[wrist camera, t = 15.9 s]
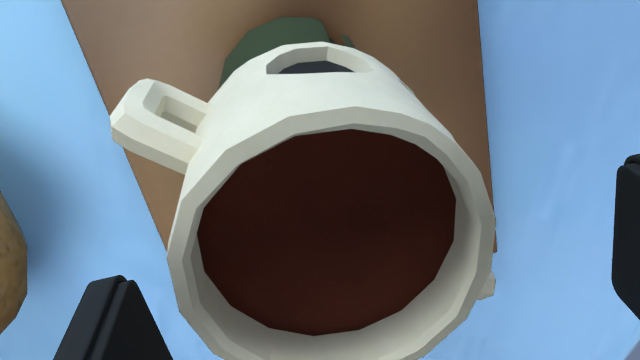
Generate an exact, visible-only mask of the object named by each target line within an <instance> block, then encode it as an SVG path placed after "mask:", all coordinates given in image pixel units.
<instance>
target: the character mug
mask: <svg viewBox="0 0 640 360" xmlns="http://www.w3.org/2000/svg"><path fill="white" fill-rule="evenodd" d="M342 37H343V40H344V43H345V46H341V45H337V44H336V43H335V42H334V41H333V40H332V39H330V38H328V35H327V33H326V30H325V28H324V25H323V23H322V22H321V21H319V20H318V19H316V18H306V17H279V18H277V19H275V20H273V21H270V22H268V23H266V24H263V25H261V26H259V27H257V28H254V29H252V30H250V31H248V32H247V33H246V34H245V35H244V37H243V38H242V39H241V40H240V42H239V43H238V44H237V45H236V47H235V48H234V49H233V50H232V52H231V53H230V54H229V55H228V57H227V58H226V59H225V62H224V66H223V70H222V75H221V79H220V83H219V88H218V91H217V92H216V93H215V95H214V96H213V97H212V98H211V99H210V101H209V102H208V103H206V102H204V101H202V100H200V99H198V98H196V97H193V96H191V95H189V94H187V93H185V92H183V91H181V90H179V89H177V88H175V87H173V86H171V85H168V84H165V83H163V82H160V81H156V80H152V79H148V78H147V79H143V80H139V81H138V82H137V83H135V84H134V85H133V86H132V87H131V88H129V90H128V91H127V92H126V94H125V95H124V97H123V98H122V99H121V101H120V102H119V104H118V105H117V106H116V108H115V109H114V111H113V112H112V114H111V115H110V124H111V133H112V139H113V141H114V142H116V143H117V144H119V145H121V146H122V147H124V148H126V149H127V150H129V151H131V152H133V153H135V154H137V155H140V156H142V157H144V158H147V159H149V160H151V161H154V162H156V163H158V164H161V165H163V166H165V167H167V168H170V169H172V170H174V171H177V172H179V173H181V174H184V175H185V178H184V182H183V186H182V190H181V194H180V198H179V202H178V206H177V210H176V214H175V218H174V222H173V226H172V230H171V233H170V237H169V241H168V249H167V262H168V266H169V270H170V274H171V279H172V283H173V287H174V291H175V295H176V300H177V304H178V308H179V312H180V313H181V315H182V316H183V317H184V318H185V319H186V321H187V322H188V323H189V324H190V326H191V327H192V328H193V329H194V331H195V332H196V333H197V334H198V336H199V337H200V338H201V339H202V340H203V342H204V343H205V344H206V345H207V347H208V348H209V349H210V350H211V352H212V353H213V354H215V355H217V356H219V357H221V358H222V359H224V360H417V359H419V358H421V357H423V356H425V355H426V354H427V353H429V352H430V351H431V350H432V349H433V348H434V347H435V346H436V345H438V344H439V343H440V342H441V341H442V340H443V339H444V338H446V337H447V336H448V335H449V334H450V333H451V332H452V331H453V330H455V329H456V328H457V327H458V326H459V325H460V324H461V323H462V322H464V321H465V320H466V319H467V317H468V315H469V313H470V311H471V309H472V307H473V305H474V303H475V301H476V299H477V300H482V299H485V298H487V297H490V296H493V295H494V289H495V283H496V280H495V277H494V274H493V272H492V271H491V266H492V256H493V246H494V236H495V227H496V218H495V215H494V212H493V209H492V206H491V202H490V199H489V196H488V193H487V190H486V187H485V184H484V181H483V178H482V175H481V172H480V171H479V169H478V168H477V167H476V165H475V164H474V163H473V161H472V160H471V159H470V158H469V157H468V156H467V154H466V153H465V152H464V151H463V150H462V148H461V147H460V146H459V145H458V144H457V143H456V141H455V140H454V138H453V136H452V135H451V133H450V132H449V131H448V130H447V129H446V128H445V127H444V126H443V125H442V124H441V123H440V122H439V121H438V120H437V119H436V118H435V117H434V116H433V115H432V114H431V113H430V112H429V111H428V110H427V109H426V108H425V107H424V106H423V104H422V103H421V102H420V101H419V100H418V99H417V98H416V96H415V94H414V92H413V91H412V90H411V89H410V88H409V87H408V86H407V85H405V84H404V83H403V82H402V81H401V80H400V79H399V78H398V76H397V75H396V74H395V73H394V72H393V71H392V70H390V69H389V68H388V67H386V66H385V65H383V64H382V63H381V62H379V61H378V60H376V59H375V58H374V57H372V56H370V55H368V54H365V53H363V52H361V51H358V50H356V48H355V47H354V45H353V43H352V42H351V40H350V39H349V37H347V36H346V35H344V34H342Z"/></svg>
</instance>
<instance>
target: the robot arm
mask: <svg viewBox="0 0 640 360" xmlns="http://www.w3.org/2000/svg"><path fill="white" fill-rule="evenodd" d="M612 284H613V287H614V289H615V291H616V293H617V295H618V296H619V297H620V299H621V300H622V301H623V302H624V303H625V304H626V305H627V306H628V307H629V309H630V310H631V311H632V312H633V313H634V314H635V315H636V316H637V317H638V319H639V320H640V154H636V155H632V156H629V157H628V158H627V159H626V161H625V163H624V165H623V166H620V167H619V168H618V170H617V178H616V198H615V218H614V238H613V258H612ZM53 360H173V358H172V356H171V354H170V352H169V350H168V348H167V346H166V344H165V342H164V340H163V337H162V335H161V333H160V331H159V329H158V327H157V325H156V323H155V321H154V318H153V316H152V314H151V312H150V310H149V308H148V306H147V304H146V302H145V300H144V297H143V295H142V293H141V291H140V289H139V287H138V285H137V283H136V282H135V281H134V280H129V281H127V280H126V278H124V277H123V276H121V275H118V276H113V277H109V278H105V279H100V280H96V281H92V282H90V283H89V284H88V286H87V288H86V290H85V292H84V294H83V296H82V298H81V301H80V303H79V305H78V307H77V309H76V311H75V313H74V316H73V318H72V320H71V322H70V324H69V326H68V329H67V331H66V333H65V335H64V337H63V339H62V341H61V344H60V346H59V348H58V350H57V352H56V354H55V357H54V359H53Z"/></svg>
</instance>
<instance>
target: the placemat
mask: <svg viewBox="0 0 640 360" xmlns="http://www.w3.org/2000/svg"><path fill="white" fill-rule="evenodd" d="M61 2H62V4H63V7H64V9H65V11H66V14H67V16H68V19H69V21H70V23H71V26H72V28H73V30H74V33H75V35H76V38H77V40H78V42H79V45H80V47H81V49H82V52H83V54H84V57H85V59H86V61H87V64H88V66H89V68H90V71H91V73H92V76H93V78H94V80H95V83H96V85H97V87H98V90H99V92H100V95H101V97H102V99H103V102H104V104H105V106H106V109H107V111H108V114H109V116H110V115H111V114H112V112H113V111H114V109H115V108H116V106H117V105H118V104H119V102H120V101H121V99H122V98H123V97H124V95H125V94H126V92H127V91H128V90H129V88H131V87H132V86H133V85H134V84H135V83H137V82H138V81H139V80H143V79H147V78H148V79H152V80H156V81H160V82H163V83H165V84H168V85H171V86H173V87H175V88H177V89H179V90H181V91H183V92H185V93H187V94H189V95H191V96H193V97H196V98H198V99H200V100H202V101H204V102H206V103H208V102H209V101H210V99H211V98H212V97H213V96H214V95H215V93H216V92H217V91H218V88H219V83H220V79H221V75H222V70H223V66H224V62H225V59H226V58H227V57H228V55H229V54H230V53H231V52H232V50H233V49H234V48H235V47H236V45H237V44H238V43H239V42H240V40H241V39H242V38H243V37H244V35H245V34H246V33H247V32H248V31H250V30H252V29H254V28H257V27H259V26H261V25H263V24H266V23H268V22H270V21H273V20H275V19H277V18H279V17H306V18H316V19H318V20H319V21H321V22H322V23H323V25H324V28H325V30H326V33H327V35H328V38H330V39H332V40H333V41H334V42H335V43H336V44H337V45H341V46H345V43H344V40H343V37H342V34H344V35H346V36H347V37H349V39H350V40H351V42H352V43H353V45H354V47H355V48H356V50H358V51H361V52H363V53H365V54H368V55H370V56H372V57H374V58H375V59H376V60H378V61H379V62H381V63H382V64H383V65H385V66H386V67H388V68H389V69H390V70H392V71H393V72H394V73H395V74H396V75H397V76H398V78H399V79H400V80H401V81H402V82H403V83H404V84H405V85H407V86H408V87H409V88H410V89H411V90H412V91H413V92H414V94H415V96H416V98H417V99H418V100H419V101H420V102H421V103H422V104H423V106H424V107H425V108H426V109H427V110H428V111H429V112H430V113H431V114H432V115H433V116H434V117H435V118H436V119H437V120H438V121H439V122H440V123H441V124H442V125H443V126H444V127H445V128H446V129H447V130H448V131H449V132H450V133H451V135H452V136H453V138H454V140H455V141H456V143H457V144H458V145H459V146H460V147H461V148H462V150H463V151H464V152H465V153H466V154H467V156H468V157H469V158H470V159H471V160H472V161H473V163H474V164H475V165H476V167H477V168H478V169H479V171H480V172H481V175H482V178H483V181H484V184H485V187H486V190H487V193H488V196H489V199H490V202H491V206H492V209H493V212H494V206H493V193H492V181H491V168H490V155H489V143H488V130H487V117H486V104H485V92H484V79H483V66H482V54H481V41H480V28H479V16H478V3H477V0H61ZM123 149H124V151H125V154H126V156H127V159H128V161H129V163H130V166H131V168H132V170H133V173H134V175H135V178H136V180H137V182H138V185H139V187H140V189H141V192H142V194H143V197H144V199H145V201H146V204H147V206H148V208H149V211H150V213H151V216H152V218H153V220H154V223H155V225H156V227H157V230H158V232H159V235H160V237H161V239H162V242H163V244H164V246H165V249H166V251H167V249H168V241H169V237H170V233H171V230H172V226H173V222H174V218H175V214H176V210H177V206H178V202H179V198H180V194H181V190H182V186H183V182H184V178H185V175H184V174H181V173H179V172H177V171H174V170H172V169H170V168H167V167H165V166H163V165H161V164H158V163H156V162H154V161H151V160H149V159H147V158H144V157H142V156H140V155H137V154H135V153H133V152H131V151H129V150H127V149H126V148H124V147H123ZM495 252H497V244H496V231H495V236H494V246H493V253H495Z"/></svg>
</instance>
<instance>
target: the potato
mask: <svg viewBox="0 0 640 360" xmlns="http://www.w3.org/2000/svg"><path fill="white" fill-rule="evenodd" d="M26 295H27V244H26V242H25V239H24V237H23V234H22V232H21V229H20V227H19V225H18V223H17V221H16V219H15V217H14V215H13V213H12V212H11V210H10V208H9V206H8V204H7V202H6V200H5V199H4V197H3V195H2V193H1V191H0V334H1V333H2V332H3V331H4V330H5V329H6V328H7V326H8V325H9V324H10V323H11V322H12V321H13V320H14V319H15V318H16V316H17V314H18V312H19V309H20V307H21V305H22V303H23V301H24V299H25V297H26Z"/></svg>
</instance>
